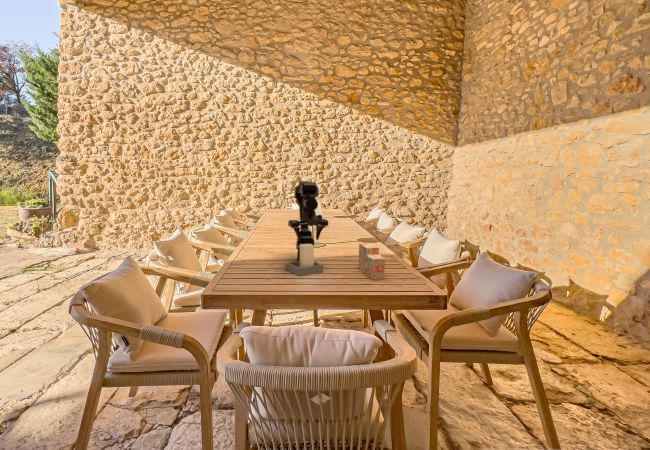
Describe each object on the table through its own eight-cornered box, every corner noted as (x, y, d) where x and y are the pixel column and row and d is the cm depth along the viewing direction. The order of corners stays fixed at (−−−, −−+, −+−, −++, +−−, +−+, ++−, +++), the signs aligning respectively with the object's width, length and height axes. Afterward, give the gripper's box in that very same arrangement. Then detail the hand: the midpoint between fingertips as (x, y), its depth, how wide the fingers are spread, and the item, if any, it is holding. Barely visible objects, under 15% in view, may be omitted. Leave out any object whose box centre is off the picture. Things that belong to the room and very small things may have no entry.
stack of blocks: (384, 279, 165) (385, 251, 163) (370, 279, 164) (371, 252, 162) (370, 266, 185) (371, 242, 184) (358, 267, 184) (359, 242, 183)
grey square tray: (307, 266, 184) (307, 259, 183) (322, 272, 174) (322, 264, 173) (285, 270, 176) (285, 262, 176) (300, 276, 166) (300, 268, 166)
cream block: (299, 269, 175) (299, 244, 173) (309, 268, 177) (310, 243, 175) (303, 272, 170) (303, 246, 169) (313, 271, 172) (313, 245, 170)
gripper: (294, 210, 168) (294, 244, 170) (333, 209, 175) (332, 242, 177) (287, 208, 178) (287, 240, 181) (324, 207, 185) (323, 238, 187)
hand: (308, 240), depth 181 cm, fingers open, 9 cm apart
